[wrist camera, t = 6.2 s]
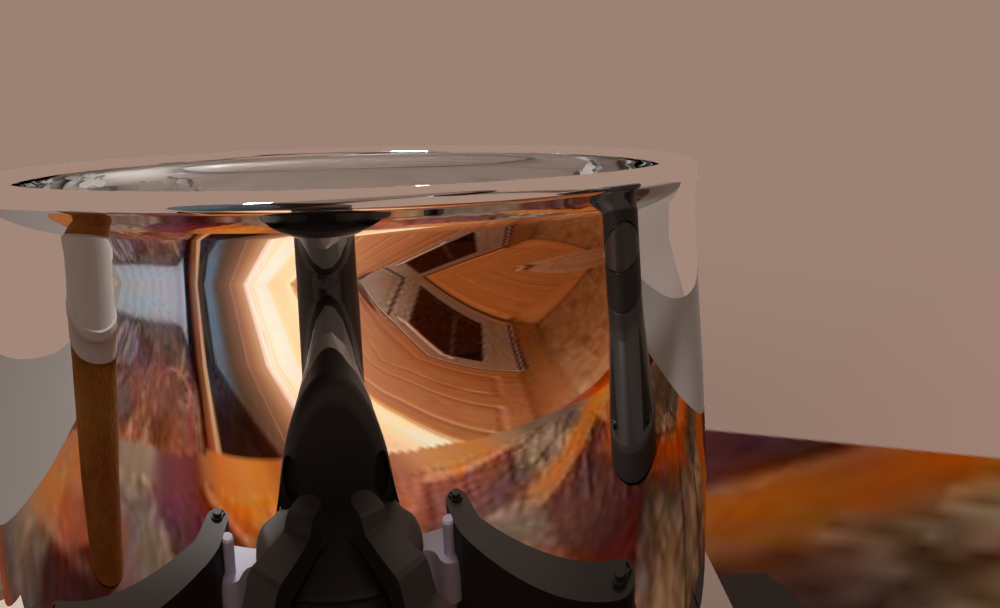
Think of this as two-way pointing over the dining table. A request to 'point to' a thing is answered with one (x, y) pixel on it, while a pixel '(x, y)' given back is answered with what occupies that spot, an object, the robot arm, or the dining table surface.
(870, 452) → the dining table surface
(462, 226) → the beer glass
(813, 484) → the dining table surface
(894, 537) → the dining table surface
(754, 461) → the dining table surface
